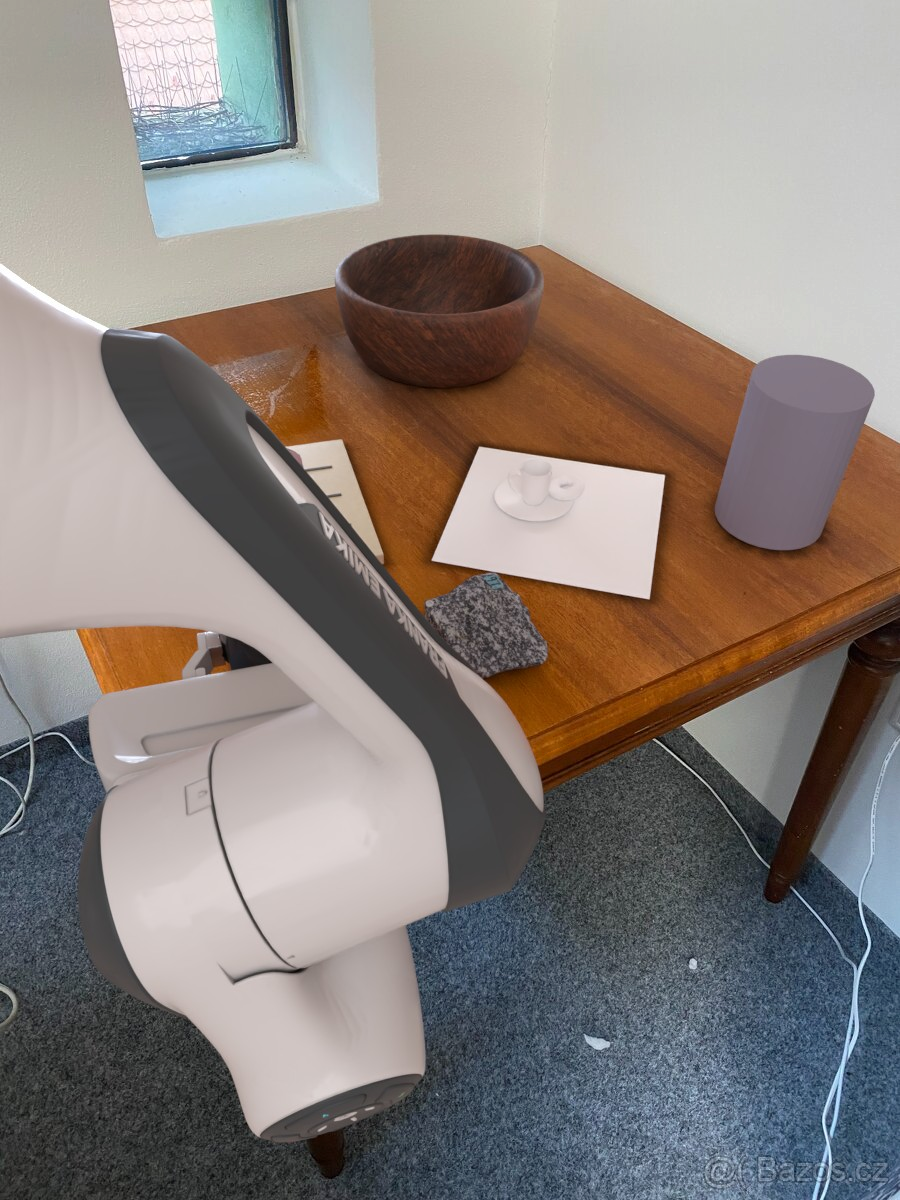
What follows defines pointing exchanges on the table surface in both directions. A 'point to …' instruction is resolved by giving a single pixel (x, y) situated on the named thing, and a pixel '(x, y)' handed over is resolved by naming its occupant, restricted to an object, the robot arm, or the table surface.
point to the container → (791, 450)
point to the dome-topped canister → (241, 654)
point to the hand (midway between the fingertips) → (257, 629)
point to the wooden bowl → (439, 307)
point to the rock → (487, 625)
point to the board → (339, 485)
